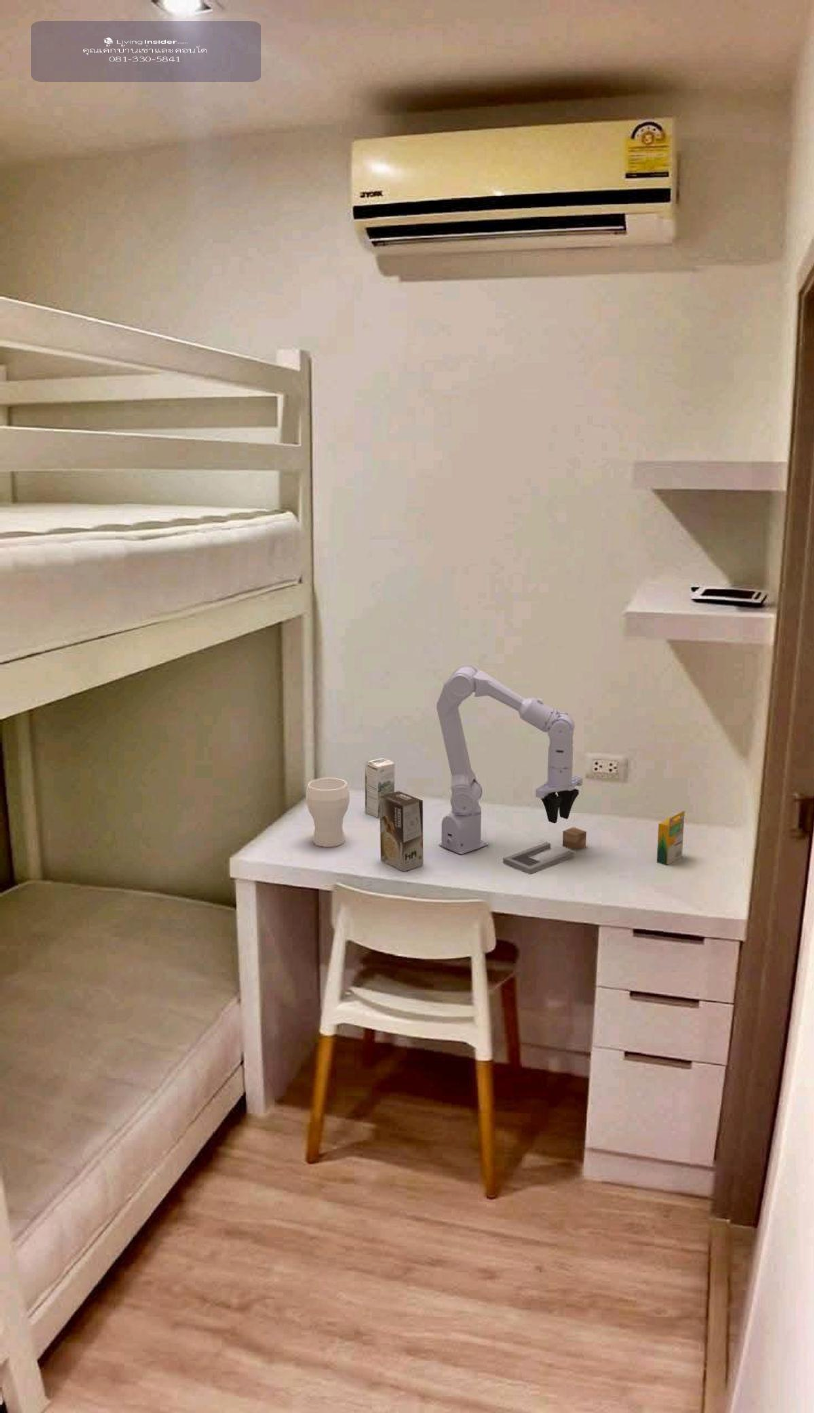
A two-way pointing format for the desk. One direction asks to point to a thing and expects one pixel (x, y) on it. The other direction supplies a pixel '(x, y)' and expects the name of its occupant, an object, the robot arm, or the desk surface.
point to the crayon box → (670, 839)
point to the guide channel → (514, 863)
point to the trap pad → (528, 861)
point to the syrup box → (378, 783)
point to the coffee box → (401, 830)
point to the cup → (328, 809)
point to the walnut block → (574, 838)
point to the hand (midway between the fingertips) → (558, 819)
